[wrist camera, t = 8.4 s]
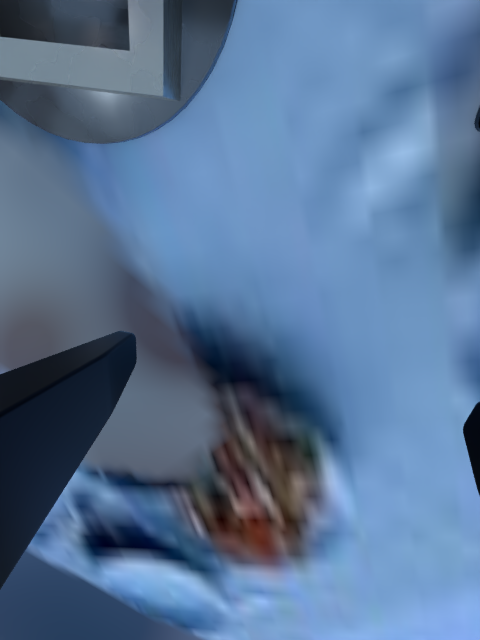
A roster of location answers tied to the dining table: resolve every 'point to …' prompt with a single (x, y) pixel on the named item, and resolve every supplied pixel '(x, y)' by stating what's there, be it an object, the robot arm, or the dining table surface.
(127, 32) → the disk with square socket
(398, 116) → the dining table surface
